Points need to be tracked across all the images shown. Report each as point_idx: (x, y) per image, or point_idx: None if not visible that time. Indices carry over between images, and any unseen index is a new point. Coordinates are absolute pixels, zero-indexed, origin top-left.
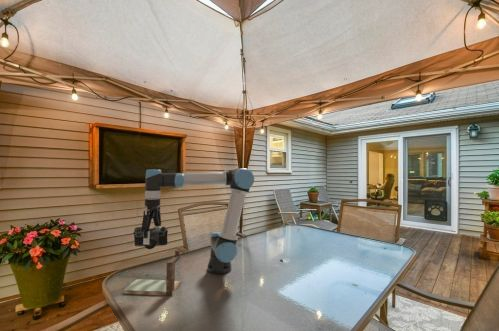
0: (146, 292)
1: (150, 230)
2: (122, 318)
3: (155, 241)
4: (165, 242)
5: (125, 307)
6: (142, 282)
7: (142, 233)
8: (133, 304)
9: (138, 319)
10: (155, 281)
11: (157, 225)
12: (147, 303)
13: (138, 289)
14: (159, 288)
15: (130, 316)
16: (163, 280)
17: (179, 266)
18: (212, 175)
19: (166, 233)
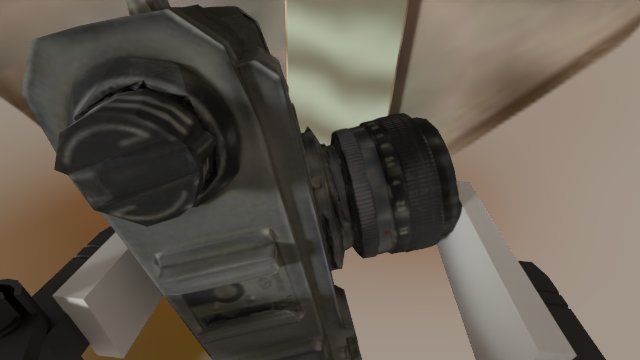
0: (396, 65)
1: (280, 328)
2: (566, 79)
3: (405, 135)
4: (253, 25)
5: (485, 104)
6: (317, 119)
7: (359, 354)
8: (469, 83)
9: (605, 5)
10: (304, 63)
11: (57, 334)
12: (475, 23)
13: (379, 109)
14: (377, 8)
15: (564, 53)
16: (290, 23)
17: (85, 6)
18: None
19: (206, 12)
